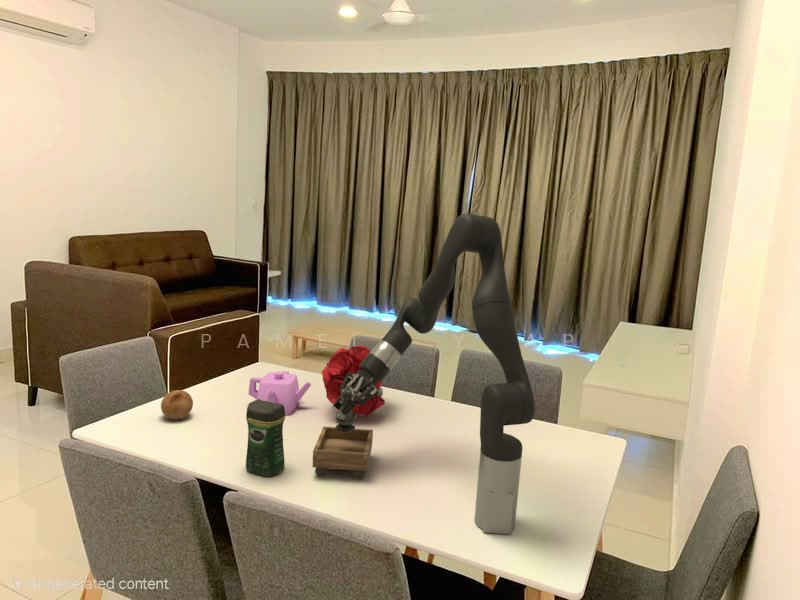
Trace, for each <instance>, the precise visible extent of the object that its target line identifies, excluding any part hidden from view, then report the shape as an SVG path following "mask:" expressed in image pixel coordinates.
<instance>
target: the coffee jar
mask: <svg viewBox="0 0 800 600" xmlns="http://www.w3.org/2000/svg"><path fill="white" fill-rule="evenodd" d="M285 419H286V415H285V408H284V405H283V404H277V403H273V402H268V401H262V400H260V399H254V400H253V401H251V402H249V403H248V404H247V409H246V416H245V420H246V423H247V434H248V435H247V449H246V457H245V458H246V459H245V469H246V471H248V472H250V473H252V474H256V475H259V476H265V477H271V476H275V475H278V474H279V473H281V472H282V471H283V469H285V451H284V438H283V437H284V435H283V434H284V433H283V427H284V422H285Z"/></svg>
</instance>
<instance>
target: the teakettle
mask: <svg viewBox="0 0 800 600" xmlns="http://www.w3.org/2000/svg"><path fill="white" fill-rule="evenodd" d="M257 384H259V385H258V388H257ZM248 386H249V387H248V395H249V396H250V397H252V398H254V400H257V399H260V400H262V401H268V402H273V403H277V404H283V405H284V408H285V416H290V415H292V413H293V412H295V410H296V409H297V407H298V404H299V402H300V401H301V399H302V397H303V396H304V395H305V394H306V393H307V391H308V390H309V388H310V387H311V386H312V383H311V382H305V384H304V385H303V386H302V387H300V388H299V382H298V376H297V374H296V373H290V371H284V370H283V371H275V372H268V373H267V374H264V376H263V377H253V376H252V377H251V378H250V379H249V385H248Z"/></svg>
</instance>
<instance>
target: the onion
mask: <svg viewBox="0 0 800 600" xmlns="http://www.w3.org/2000/svg"><path fill="white" fill-rule="evenodd" d="M193 406H194V401H193V398H192V396H191V394H190V393H189V392H187V391H185V390H183V389H182V390H181V389H177V390H172V391H170V392H168V393H167V394H165V396H164V397H163V398H162V400H161V402H160V410H161V412H162V414H163V416H164V418H166V419H169V420H172V421H173V420H174V421H176V420H183V419H184V418H186V417H188V415H189V414H190V413H191V411H192V410H193Z"/></svg>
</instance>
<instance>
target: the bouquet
mask: <svg viewBox="0 0 800 600" xmlns="http://www.w3.org/2000/svg"><path fill="white" fill-rule="evenodd" d="M371 350H372V349H369V347H368V346H366V345H356V346H351V347H350V348H345V347H341V348H339V349H338V350H336V352H335V353H334V354H333V355H332V357H330V359H329V360H328V362H327V363H326V366H325V367H324V368H323V369H322V371H321V376H322V381H323V384H324V389H325V394H326V395H325V397H326V399H327V400H328V401H329V403H331V404H332V405H333V404H334V403H335V401H336V400H337V399H338V398H339V397H340V395H341V391H340V390H339V389H340V387H341V385H342V383H343V381H344V379H345V377H346V375H347V374H348V373H349V372H350V373H352V374H355V373H356V372H358V371H359V370H360V369H361V367H360V363H361V362H362V361H363V360H364V359H365V357H366V356H367V355H368V354H369V353H370V351H371ZM388 375H389V373H388V374H387V376H388ZM383 381H384V379H383V380H382V382H377V383H376V385H375V388H376V389H377V390H378V394H376V395H375V396H374V397H373V398H371V399H370V400H369V401H368V402H366V403H365V404H364V405H362V406H361V405H360V404H358V405H355V407H354V408H353V409H352V412H354V413H356V414H357V415H359V416H363V417H368V416H369V415H371V414H373V413H374V412H375V411H376V410H379V409H380V408H381V407H382V406H385V403H386V401H385V399H384V397H383V395H384V390H383V388H382V384H383ZM351 387H352V386H351ZM345 388H346V386H345ZM352 388H353V387H352ZM353 389H354V388H353ZM357 396H358V395H357ZM357 396H356V397H357ZM363 399H365V398H363ZM363 399H362V400H363Z"/></svg>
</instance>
